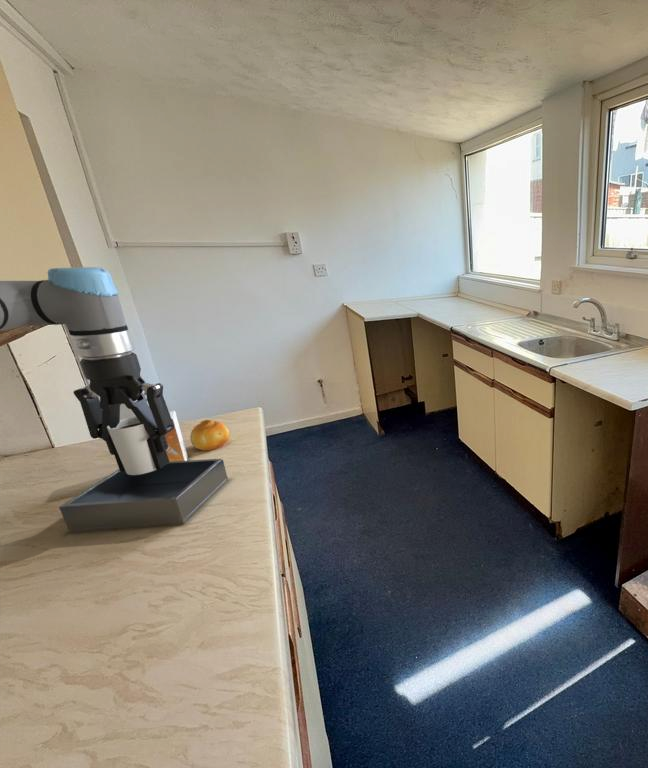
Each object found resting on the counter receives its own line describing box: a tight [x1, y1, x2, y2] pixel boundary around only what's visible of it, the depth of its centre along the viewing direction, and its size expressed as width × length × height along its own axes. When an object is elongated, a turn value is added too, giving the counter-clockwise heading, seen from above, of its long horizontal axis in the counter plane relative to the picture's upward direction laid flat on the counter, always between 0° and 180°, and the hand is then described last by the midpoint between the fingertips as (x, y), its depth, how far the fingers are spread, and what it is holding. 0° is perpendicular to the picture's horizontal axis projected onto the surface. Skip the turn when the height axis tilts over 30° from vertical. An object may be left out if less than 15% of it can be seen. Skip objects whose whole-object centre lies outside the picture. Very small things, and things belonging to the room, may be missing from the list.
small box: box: [165, 410, 188, 462], centre depth 95 cm, size 8×6×13 cm
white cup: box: [107, 415, 156, 475], centre depth 78 cm, size 7×7×10 cm
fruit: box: [189, 419, 230, 451], centre depth 106 cm, size 8×8×8 cm
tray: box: [58, 458, 229, 534], centre depth 81 cm, size 20×16×6 cm
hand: (145, 466), depth 80 cm, fingers closed on white cup, 6 cm apart
